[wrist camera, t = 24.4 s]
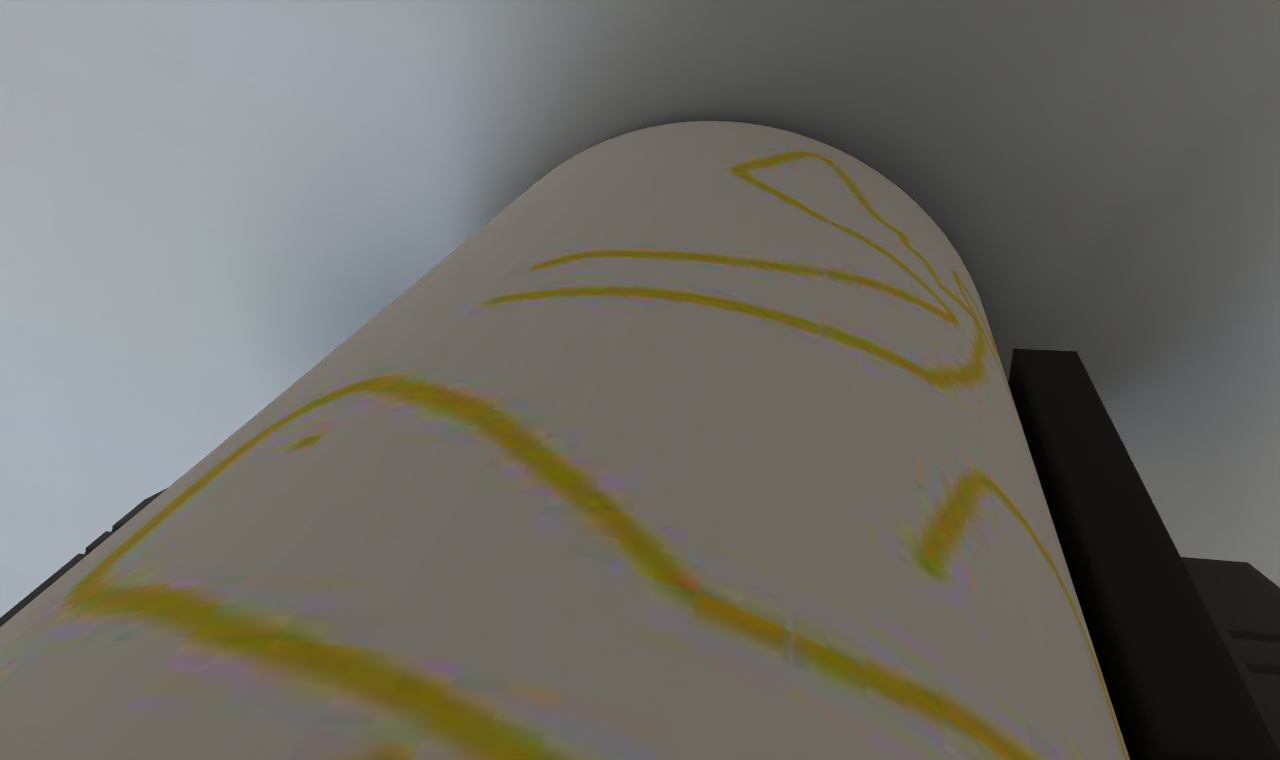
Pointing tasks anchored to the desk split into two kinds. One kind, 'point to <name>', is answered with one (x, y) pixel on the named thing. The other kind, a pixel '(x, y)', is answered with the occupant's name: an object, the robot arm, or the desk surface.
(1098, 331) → the desk surface
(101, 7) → the desk surface
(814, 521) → the cream cylinder
